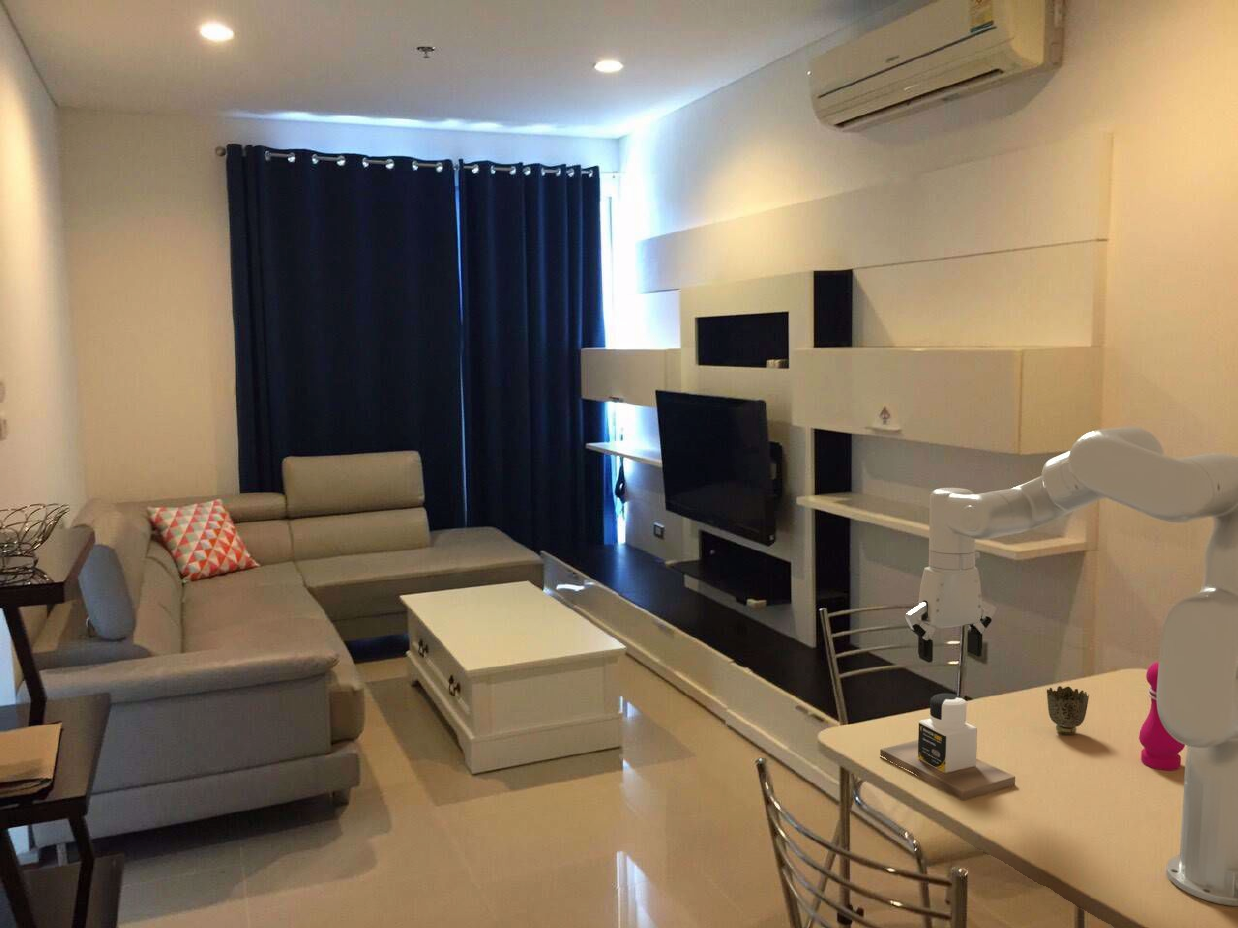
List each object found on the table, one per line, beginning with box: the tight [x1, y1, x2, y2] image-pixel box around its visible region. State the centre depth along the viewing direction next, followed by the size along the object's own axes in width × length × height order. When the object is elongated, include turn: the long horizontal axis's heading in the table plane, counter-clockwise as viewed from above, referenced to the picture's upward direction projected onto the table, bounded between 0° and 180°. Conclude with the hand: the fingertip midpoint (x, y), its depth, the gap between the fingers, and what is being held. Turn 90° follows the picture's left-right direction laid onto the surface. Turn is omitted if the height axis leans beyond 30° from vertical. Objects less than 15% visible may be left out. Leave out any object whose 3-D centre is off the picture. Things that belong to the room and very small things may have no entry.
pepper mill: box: [1138, 661, 1186, 771], centre depth 183 cm, size 7×7×20 cm
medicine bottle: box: [917, 692, 978, 773], centre depth 181 cm, size 7×7×12 cm
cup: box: [1046, 685, 1090, 736], centre depth 198 cm, size 8×7×8 cm
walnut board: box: [879, 739, 1016, 801], centre depth 182 cm, size 20×12×2 cm, turn 27°
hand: (950, 657), depth 179 cm, fingers open, 9 cm apart
